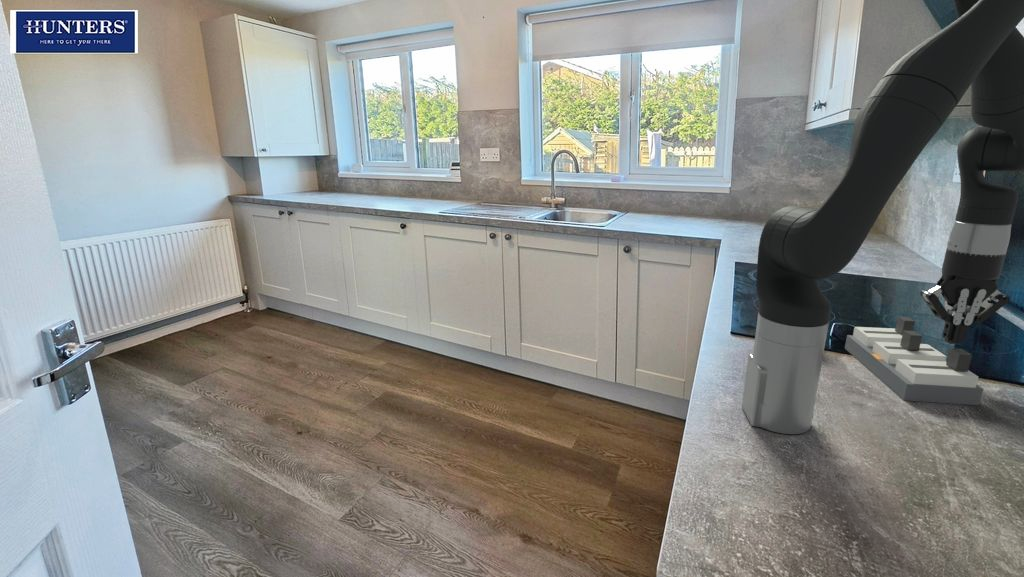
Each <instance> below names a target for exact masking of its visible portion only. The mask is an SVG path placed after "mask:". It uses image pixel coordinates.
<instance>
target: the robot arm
mask: <svg viewBox="0 0 1024 577" xmlns="http://www.w3.org/2000/svg"><path fill="white" fill-rule="evenodd" d="M952 1H953V4H954V7H955V13H956V16H957V19H956V20H954V21H953V22H951V23H950V24H948V25H947V26H945V27H943V29H941V30H939V31H938V32H936V33H934V34H933V35H932V36H931V37H929V38H927V39H925V40H924V41H923V42H922V43H920V44H919V45H917V46H915V47H914V48H912V49H911V50H909V51H908V52H907V53H906V54H904V55H903V56H902V57H901V58H899V59H898V60H897V61H895V63H894V64H892V65H891V66H890V67H889V69H888V70H887V71H886V72H885V74H883V75H882V77H881V79H880V80H879V81H878V82H877V85H875V88H874V89H873V90H872V92H870V94H869V95H868V97H867V98H866V100H865V102H864V103H863V104H862V106H861V107H860V109H859V110H858V113H857V115H856V118H855V121H854V123H853V129H852V134H851V141H850V142H851V143H850V149H849V150H850V151H849V157H848V162H847V165H846V168H845V171H844V173H843V175H842V176H841V177H840V180H839V181H838V182H837V184H836V185H835V187H834V188H833V190H832V191H831V192H830V194H829V195H828V196H827V198H826V199H824V200H825V201H824V202H823V203H821V205H820V206H819V207H818V208H813V207H809V206H801V205H788V206H785V207H782V208H779V209H778V210H777V211H775V212H774V213H773V214H772V215H771V216H769V218H768V219H767V221H766V222H765V225H764V226H763V228H762V231H761V234H760V238H759V242H758V243H759V244H758V251H757V252H758V253H757V262H756V276H755V278H756V280H755V291H756V292H755V293H756V296H757V298H758V303H759V304H758V306H759V307H758V313H757V319H756V320H757V321H756V329H755V335H754V343H753V344H754V345H753V351H752V352H753V353H750V354H748V357H747V363H746V364H747V365H746V372H745V379H744V380H745V381H744V388H743V394H742V403H741V408H742V410H743V412H744V414H745V416H746V418H747V420H748V422H749V424H750V425H751V426H752V427H759V428H762V429H765V430H768V431H770V432H773V433H779V434H782V435H799V434H804V433H806V432H808V431H809V430H810V429H811V427H812V421H813V418H814V411H815V406H816V398H817V394H818V393H817V392H818V387H819V381H820V376H821V371H822V364H823V358H824V353H825V346H826V341H827V335H828V330H829V326H830V324H829V323H830V319H831V314H832V305H831V302H830V300H829V299H828V298H827V297H826V295H825V294H824V293H823V292H822V289H820V286H819V285H818V282H817V280H825V279H827V278H830V277H831V278H832V277H834V276H835V275H836V274H839V273H840V272H841V271H842V270H843V269H845V268H846V267H847V266H848V264H849V263H851V261H852V260H853V259H854V257H855V256H856V254H857V252H858V251H859V250H860V248H861V246H862V245H863V244H864V242H865V241H866V239H867V237H868V235H869V233H870V231H871V229H872V228H873V226H874V225H875V223H876V221H877V220H878V218H879V216H880V215H881V213H882V211H883V209H884V208H885V206H886V204H887V202H888V201H889V199H890V198H891V197H892V194H893V193H894V191H896V189H897V188H898V186H899V185H900V183H901V182H902V180H903V178H904V177H905V176H906V174H907V173H908V172H909V170H910V168H911V167H912V166H913V164H914V163H915V161H916V160H917V158H918V157H919V156H920V155H921V154H922V151H923V150H924V148H926V147H927V145H928V143H929V142H930V141H931V140H932V139H933V137H935V135H936V134H937V132H938V131H939V130H940V129H941V128H942V127H943V124H944V123H945V122H946V120H947V119H948V118H949V117H950V115H951V114H952V112H953V111H954V110H955V108H956V107H957V105H958V104H959V103H960V101H961V99H962V98H963V97H964V95H965V94H966V92H967V91H968V89H969V88H970V93H971V94H970V106H971V108H970V110H971V111H970V112H971V115H970V116H971V118H972V121H973V122H974V123H975V124H977V125H978V127H974V128H971V129H970V130H968V131H967V132H966V133H965V134H964V135H963V136H962V137H961V139H960V140H959V142H958V145H957V150H956V151H957V152H956V154H957V156H956V157H957V164H958V169H959V170H958V171H959V177H960V196H959V203H958V205H957V207H958V208H957V210H956V214H955V221H954V223H953V225H952V228H951V230H950V232H949V233H950V234H949V237H948V241H947V245H946V249H945V253H944V259H943V262H942V267H941V272H942V273H941V277H940V278H939V279H938V281H937V282H936V286H934V287H932V288H930V289H929V290H927V289H922V290H921V291H920V293H919V294H920V296H921V298H922V299H923V300H924V302H925V303H926V305H927V307H928V308H929V309H930V311H931V312H932V313H933V315H934V317H936V318H938V319H940V320H942V321H944V327H943V330H942V334H941V336H942V339H944V341H945V342H946V343H948V344H950V345H951V344H952V345H961V344H962V343H963V342H964V341H965V340H966V338H967V333H968V330H969V326H971V325H972V324H973V323H980V324H981V323H983V322H985V321H986V320H987V319H989V317H991V316H993V315H994V314H995V313H996V312H997V311H999V310H1000V309H1002V308H1003V307H1004V306H1005V305H1006V304H1008V303H1009V302H1010V301H1011V298H1010V296H1008V295H1006V294H1003V293H1002V292H1001V291H999V289H998V287H999V285H998V282H997V280H998V279H999V278H1000V276H1001V273H1002V270H1003V266H1004V262H1005V259H1006V254H1007V251H1008V248H1009V243H1010V239H1011V233H1012V232H1011V231H1012V230H1011V229H1012V225H1013V220H1014V217H1015V213H1016V211H1017V210H1016V209H1017V206H1018V201H1019V195H1020V193H1019V191H1018V190H1017V189H1016V188H1013V187H1010V186H1005V185H1001V184H997V183H996V184H995V183H992V182H990V181H989V180H987V179H986V178H985V175H984V171H986V172H988V171H989V172H1024V35H1023V34H1022V33H1021V32H1020V31H1019V29H1018V28H1017V26H1018V25H1019V24H1020V23H1021V21H1022V20H1023V19H1024V0H952ZM942 298H943V299H944V305H943V304H942V302H941V300H942Z"/></svg>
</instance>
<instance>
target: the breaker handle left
mask: <svg viewBox="0 0 1024 577" xmlns="http://www.w3.org/2000/svg"><path fill="white" fill-rule="evenodd" d="M915 323H916V321H915V320H914V319H912V318H911V317H910V316H909V317H908V316H897V320H896V324H895V328H894V329H895V331H896V332H898V333H899V334H901V335H903V330H905V331H914V328H915Z"/></svg>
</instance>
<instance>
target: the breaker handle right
mask: <svg viewBox="0 0 1024 577" xmlns="http://www.w3.org/2000/svg"><path fill="white" fill-rule="evenodd" d="M972 357H973V354H972V353H970V352H968V351H966V350H965V349H963V348H949V350H948V355H947V358H946V362H947V363H946V365H947V366H949V367H950V368H952V369H953V370H955V371H966V372H968V370H969V369H970V364H971V361H972Z"/></svg>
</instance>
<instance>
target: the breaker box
mask: <svg viewBox="0 0 1024 577" xmlns="http://www.w3.org/2000/svg"><path fill="white" fill-rule="evenodd" d="M901 339H902V335H901V334H899V333H898V332H896V331H895V328H894V327H893V328H891V327H890V328H889V327H871V326H869V327H868V326H866V327H865V326H854V328H853V333H852V335H851V334H847V335H846V339H845V344H844V349H845V351H847V352H848V353H849V354H850V355H851V356H853V357H854V358H855V359H856V360H857V361H859V363H861V365H863V366H864V367H865V368H866V369H867V370H869V371H870V372H871V373H872V374H873V375H875V377H877V378H878V380H880V381H881V382H882V383H883V384H884V385H886V387H888V388H889V389H890V390H891V391H892V392H893V393H895V394H896V395H897V396H898V397H899V398H900V399H902V400H903V401H911V402H913V401H914V402H925V403H938V404H953V405H954V404H955V405H966V406H967V405H970V406H980V403H981V401H982V400H981V399H982V397H983V392H984V388H983V387H981V386H980V385H978V380H979V376H978V375H977V374H975V373H974V372H972V371H971V370H969V369H968V372H966V371H955V370H953V369H952V368H950V367H949V366H947V365H946V363H947V359H948V355H945V354H943V353H942V352H940V351H939V350H938V349H936V348H935V347H932V346H931V345H929V344H928V343H920V348H919V351H907V350H906V349H905V348H903V347H902V346H900V344H901Z"/></svg>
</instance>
